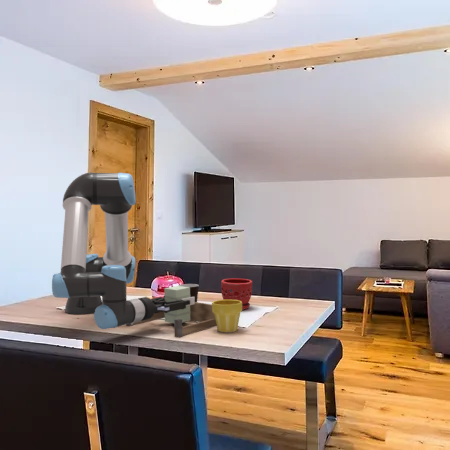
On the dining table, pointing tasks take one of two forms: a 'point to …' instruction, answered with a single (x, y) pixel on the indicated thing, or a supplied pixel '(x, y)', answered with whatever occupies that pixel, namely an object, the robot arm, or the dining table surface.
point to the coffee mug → (192, 290)
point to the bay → (198, 314)
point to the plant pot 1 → (237, 290)
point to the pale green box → (175, 295)
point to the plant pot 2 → (227, 314)
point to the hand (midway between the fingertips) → (187, 299)
